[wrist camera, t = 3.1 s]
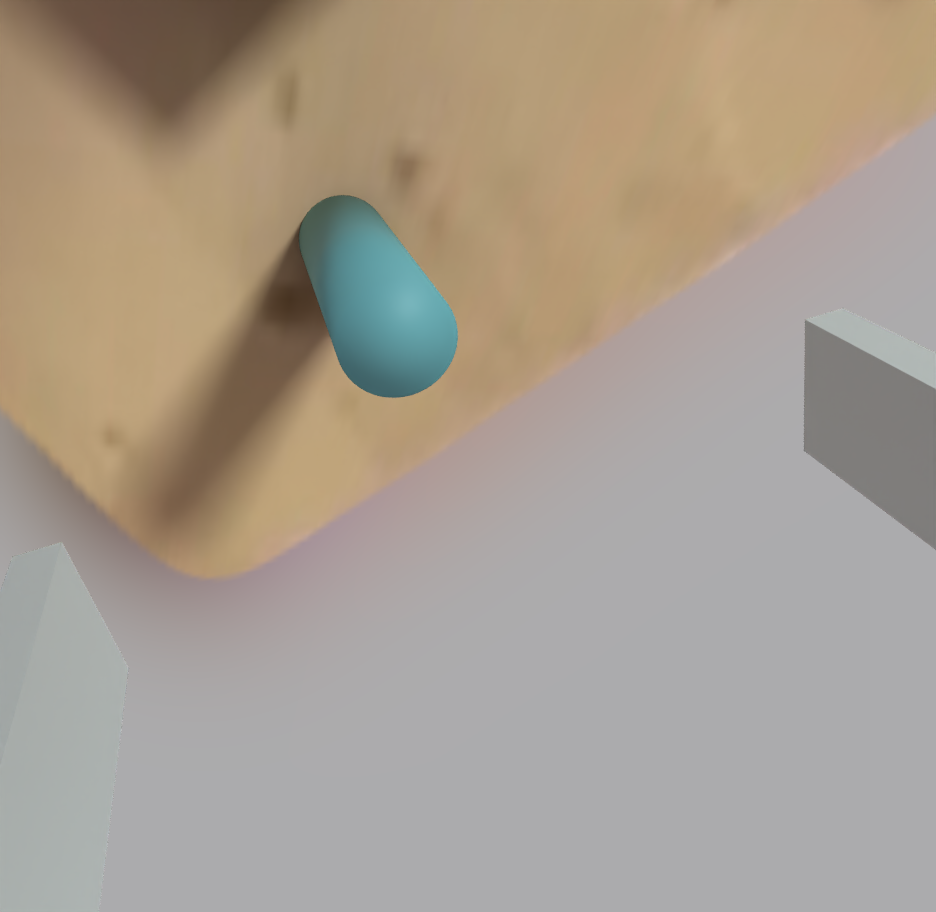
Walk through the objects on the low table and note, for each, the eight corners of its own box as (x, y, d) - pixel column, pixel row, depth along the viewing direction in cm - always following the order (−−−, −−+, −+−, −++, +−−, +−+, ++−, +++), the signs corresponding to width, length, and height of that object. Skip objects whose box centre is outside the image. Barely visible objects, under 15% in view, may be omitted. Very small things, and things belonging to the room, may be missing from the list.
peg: (280, 240, 29) (309, 342, 20) (343, 176, 28) (399, 253, 20) (343, 300, 30) (395, 420, 22) (404, 240, 30) (481, 338, 21)
